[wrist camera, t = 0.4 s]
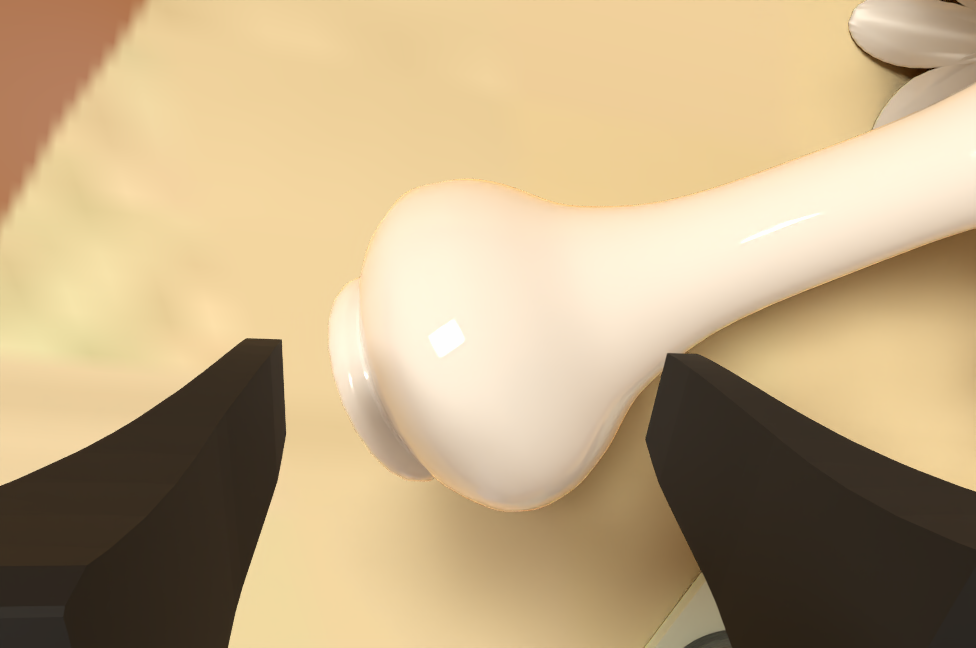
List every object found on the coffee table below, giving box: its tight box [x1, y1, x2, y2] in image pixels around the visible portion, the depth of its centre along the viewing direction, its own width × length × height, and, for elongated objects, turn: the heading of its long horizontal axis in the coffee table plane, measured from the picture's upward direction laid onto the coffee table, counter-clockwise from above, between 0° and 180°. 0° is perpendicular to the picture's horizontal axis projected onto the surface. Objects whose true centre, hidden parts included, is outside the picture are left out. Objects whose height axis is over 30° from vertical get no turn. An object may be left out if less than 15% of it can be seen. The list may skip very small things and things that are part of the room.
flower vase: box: [328, 0, 976, 512], centre depth 16 cm, size 13×18×25 cm
